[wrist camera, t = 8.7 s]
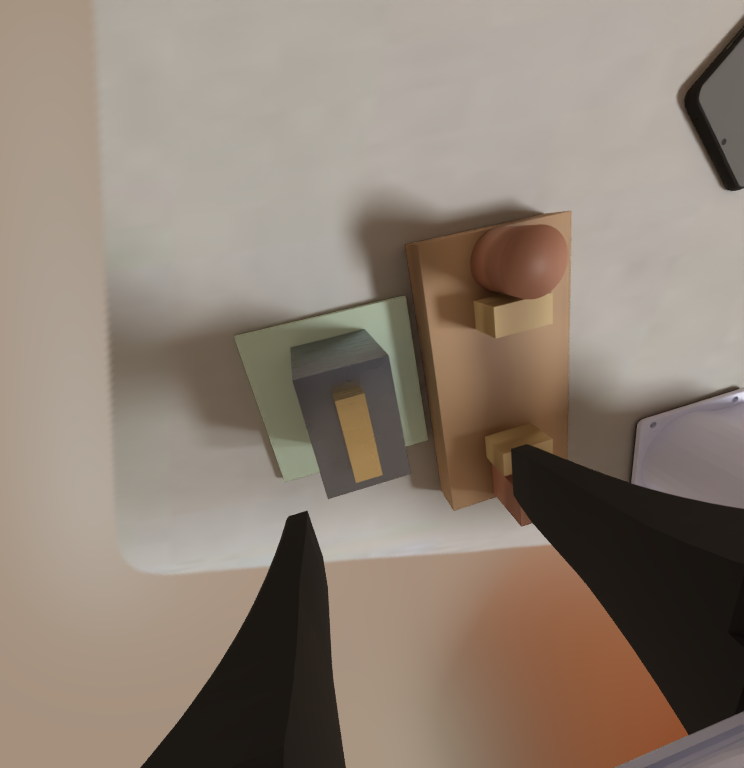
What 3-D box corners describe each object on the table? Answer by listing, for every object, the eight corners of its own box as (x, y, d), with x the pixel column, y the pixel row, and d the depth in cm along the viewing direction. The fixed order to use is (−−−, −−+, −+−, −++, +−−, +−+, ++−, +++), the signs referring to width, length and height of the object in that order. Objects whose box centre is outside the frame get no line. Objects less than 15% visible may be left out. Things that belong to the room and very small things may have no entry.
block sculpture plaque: (545, 213, 20) (621, 205, 16) (547, 458, 26) (602, 503, 22) (405, 244, 19) (443, 245, 15) (441, 491, 25) (476, 546, 21)
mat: (403, 295, 20) (405, 296, 20) (425, 437, 24) (428, 440, 23) (234, 335, 19) (233, 337, 19) (284, 478, 22) (284, 482, 22)
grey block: (364, 328, 20) (394, 360, 15) (384, 425, 22) (416, 483, 17) (290, 347, 19) (292, 387, 14) (318, 444, 22) (329, 510, 16)
